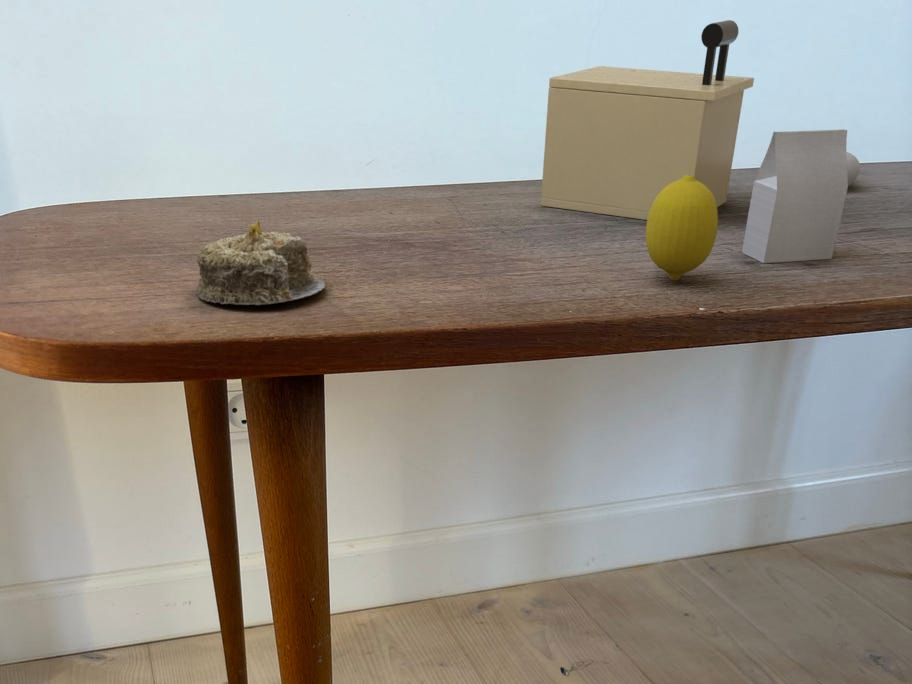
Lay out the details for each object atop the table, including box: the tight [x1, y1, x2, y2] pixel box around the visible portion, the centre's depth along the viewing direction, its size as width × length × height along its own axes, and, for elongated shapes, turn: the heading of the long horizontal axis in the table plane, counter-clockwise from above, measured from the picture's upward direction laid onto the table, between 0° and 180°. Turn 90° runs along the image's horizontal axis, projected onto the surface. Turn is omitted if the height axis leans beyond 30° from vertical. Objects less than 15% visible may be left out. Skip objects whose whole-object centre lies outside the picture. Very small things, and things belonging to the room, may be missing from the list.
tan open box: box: [540, 87, 745, 221], centre depth 106 cm, size 16×13×11 cm
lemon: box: [645, 175, 719, 281], centre depth 84 cm, size 6×6×8 cm
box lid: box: [548, 19, 755, 101], centre depth 101 cm, size 16×13×6 cm
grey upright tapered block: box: [741, 129, 849, 264], centre depth 90 cm, size 4×7×10 cm, turn 106°
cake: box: [195, 220, 326, 306], centre depth 80 cm, size 10×10×5 cm
